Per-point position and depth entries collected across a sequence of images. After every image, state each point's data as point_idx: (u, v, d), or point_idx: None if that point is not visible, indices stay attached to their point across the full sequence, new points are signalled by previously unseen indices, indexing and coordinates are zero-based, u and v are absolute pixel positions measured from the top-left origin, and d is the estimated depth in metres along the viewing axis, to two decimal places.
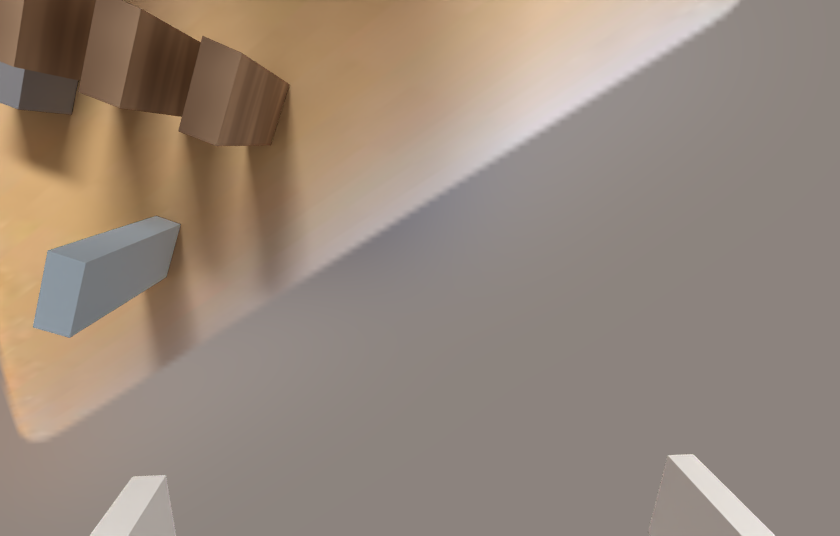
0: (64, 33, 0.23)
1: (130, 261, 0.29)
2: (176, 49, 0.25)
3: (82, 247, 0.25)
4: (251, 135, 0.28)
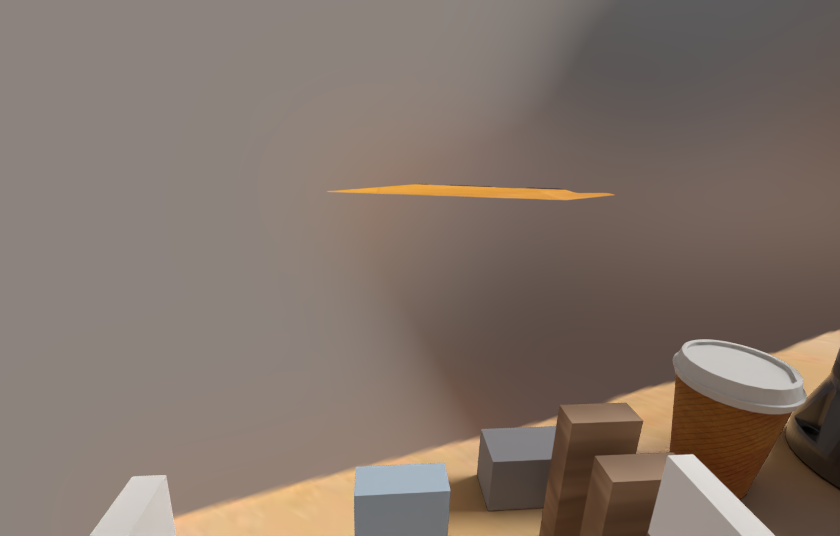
0: None
1: None
2: None
3: None
4: None
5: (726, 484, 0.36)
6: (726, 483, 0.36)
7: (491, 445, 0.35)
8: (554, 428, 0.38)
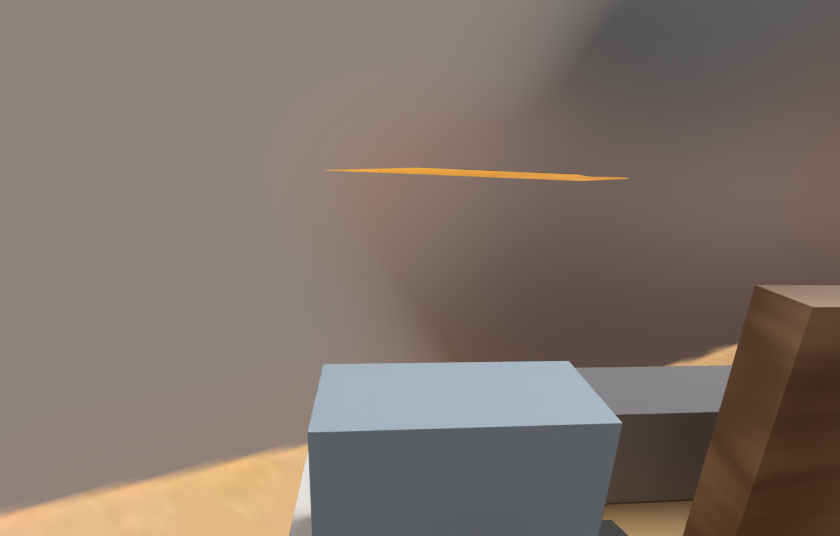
0: None
1: None
2: None
3: None
4: None
5: None
6: None
7: None
8: (675, 369, 0.23)
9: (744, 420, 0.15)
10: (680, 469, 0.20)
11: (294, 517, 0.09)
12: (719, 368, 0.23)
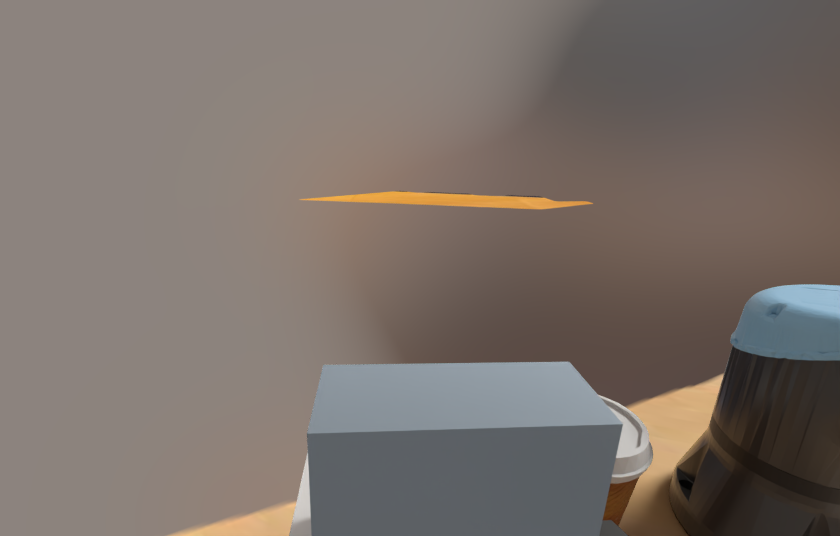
0: None
1: None
2: None
3: None
4: None
5: None
6: None
7: None
8: None
9: None
10: None
11: (293, 516, 0.09)
12: None
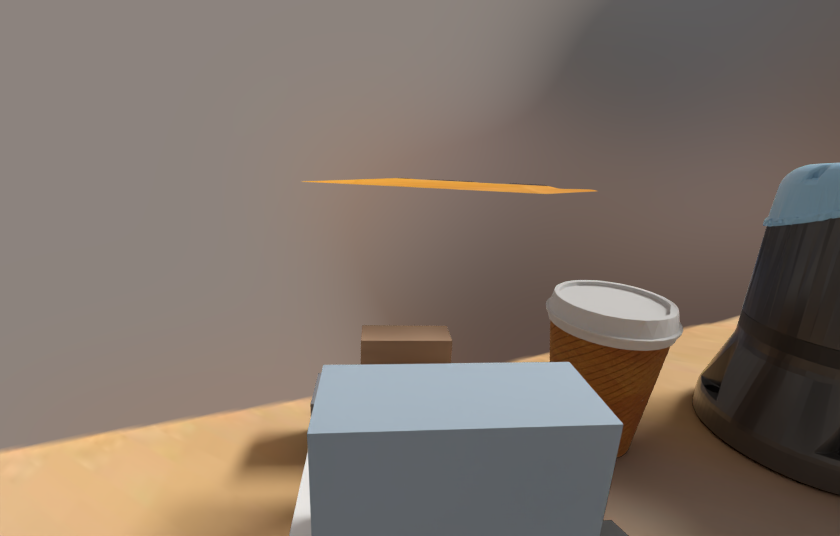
0: None
1: None
2: None
3: None
4: None
5: None
6: None
7: None
8: None
9: None
10: None
11: (293, 517, 0.09)
12: None
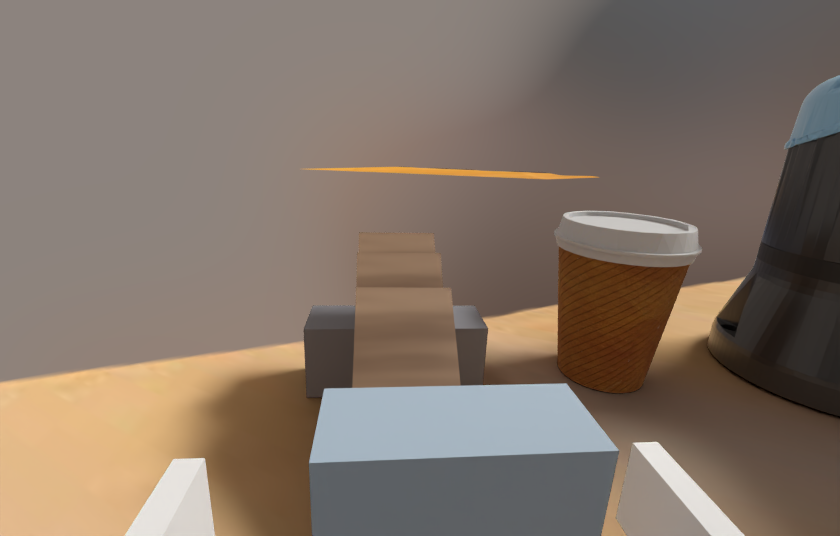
0: None
1: None
2: None
3: None
4: None
5: (610, 372, 0.29)
6: (610, 370, 0.29)
7: (314, 317, 0.28)
8: None
9: None
10: None
11: None
12: None
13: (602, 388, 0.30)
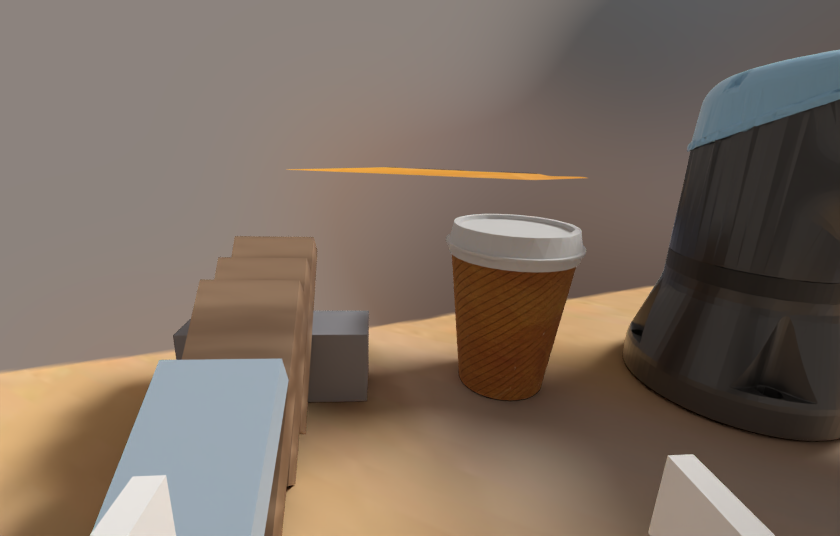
0: None
1: (216, 488, 0.15)
2: None
3: (280, 411, 0.18)
4: None
5: (499, 378, 0.29)
6: (498, 377, 0.29)
7: None
8: None
9: None
10: None
11: None
12: (331, 312, 0.31)
13: (493, 395, 0.29)
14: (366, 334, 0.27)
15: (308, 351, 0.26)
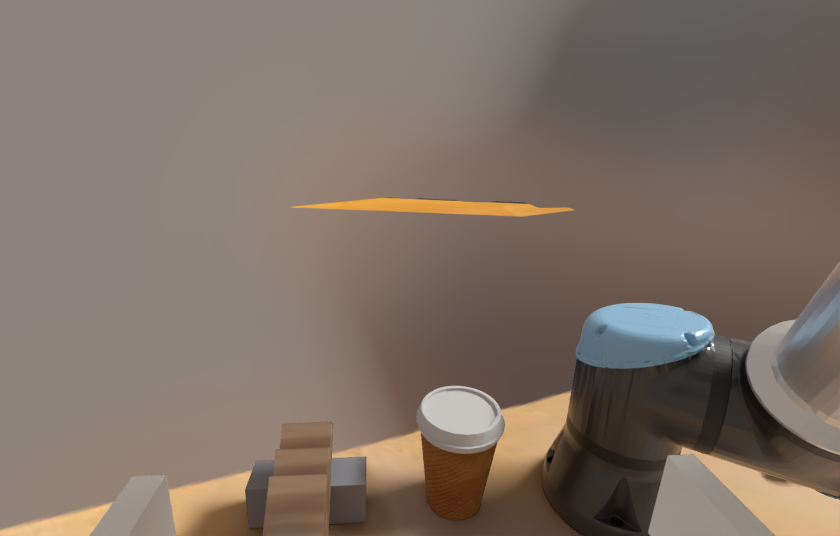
0: None
1: None
2: None
3: None
4: None
5: (450, 507, 0.45)
6: (449, 506, 0.45)
7: (254, 475, 0.44)
8: None
9: None
10: None
11: None
12: (341, 459, 0.47)
13: (446, 516, 0.46)
14: (364, 484, 0.43)
15: (329, 501, 0.42)
